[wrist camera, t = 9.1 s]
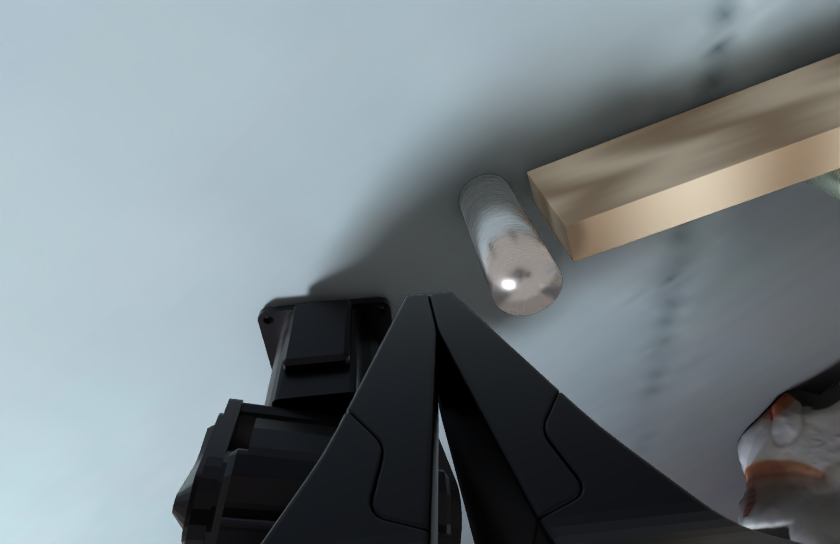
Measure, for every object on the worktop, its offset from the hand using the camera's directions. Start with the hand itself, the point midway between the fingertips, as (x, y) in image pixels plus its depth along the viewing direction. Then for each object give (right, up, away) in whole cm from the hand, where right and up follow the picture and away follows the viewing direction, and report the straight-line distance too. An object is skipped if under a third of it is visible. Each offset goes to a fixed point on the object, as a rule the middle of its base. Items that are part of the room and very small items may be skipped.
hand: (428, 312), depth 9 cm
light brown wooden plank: (+13, +7, +12) cm, 19 cm away
